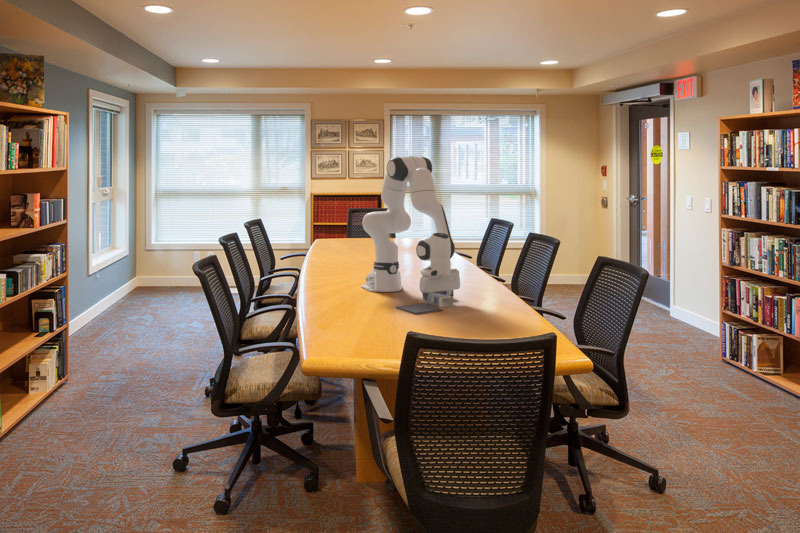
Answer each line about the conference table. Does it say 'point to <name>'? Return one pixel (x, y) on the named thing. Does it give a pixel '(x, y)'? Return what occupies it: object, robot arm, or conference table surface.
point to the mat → (418, 308)
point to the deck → (441, 300)
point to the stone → (435, 293)
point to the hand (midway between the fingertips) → (440, 301)
